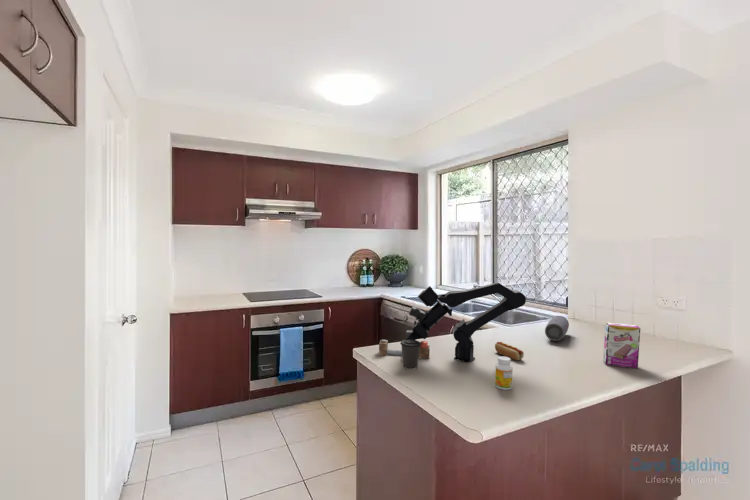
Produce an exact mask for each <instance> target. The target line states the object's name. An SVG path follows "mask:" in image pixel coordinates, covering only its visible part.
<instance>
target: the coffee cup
mask: <svg viewBox="0 0 750 500" xmlns="http://www.w3.org/2000/svg"><path fill="white" fill-rule="evenodd" d="M399 344H400V345H401V350H402V355H401V356H402V367H403V368H405V369H407V370H415V369H417V368H418V364H419V358H418V357H419V350H420V346H421V341H419V340H417V339H416V340H412V339H408V340H406V339H403V340H401V341H400V343H399Z"/></svg>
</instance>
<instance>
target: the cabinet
mask: <svg viewBox="0 0 750 500" xmlns="http://www.w3.org/2000/svg"><path fill="white" fill-rule="evenodd" d="M430 347H431V346H430V344H428V349H427V348H420V350H419V357H418V359H430V353H431V352H430V350H431V349H430Z"/></svg>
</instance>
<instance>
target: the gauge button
mask: <svg viewBox="0 0 750 500" xmlns="http://www.w3.org/2000/svg"><path fill="white" fill-rule="evenodd" d="M420 343H421V346H420V348H427V349H428V345H429V344H428V341H426V340H421V341H420Z"/></svg>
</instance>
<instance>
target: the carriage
mask: <svg viewBox="0 0 750 500" xmlns="http://www.w3.org/2000/svg"><path fill="white" fill-rule="evenodd" d="M412 331H413V330H412V329H409V330H408V329H407V330H406V332H405V340H406V339H407V338H408V337H409V335H410V334H411V333H412Z"/></svg>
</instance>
